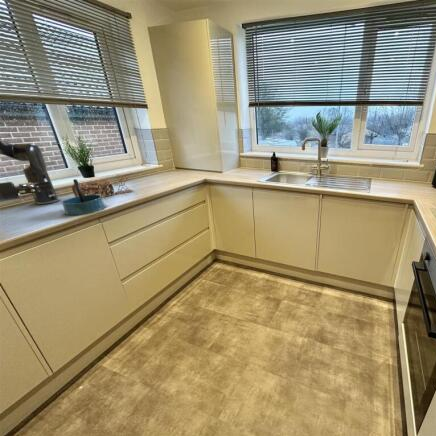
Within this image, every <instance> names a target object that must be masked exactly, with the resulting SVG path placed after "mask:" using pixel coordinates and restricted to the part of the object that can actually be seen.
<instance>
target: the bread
mask: <svg viewBox="0 0 436 436" xmlns="http://www.w3.org/2000/svg"><path fill="white" fill-rule="evenodd" d="M78 183H79V186H80V189H81V192H82V195H83V196H85V195H101V196H102V198H106V197H111V196H114V195H115V189H114V186H113V184H112V182H111V181H109V180H105V179H104V180H90V181H85V182H78ZM71 190H72V193H73V195H74V197H79V195H78V192H77V190H76V187H75V184H74V183H73V185H72V186H71Z"/></svg>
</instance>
